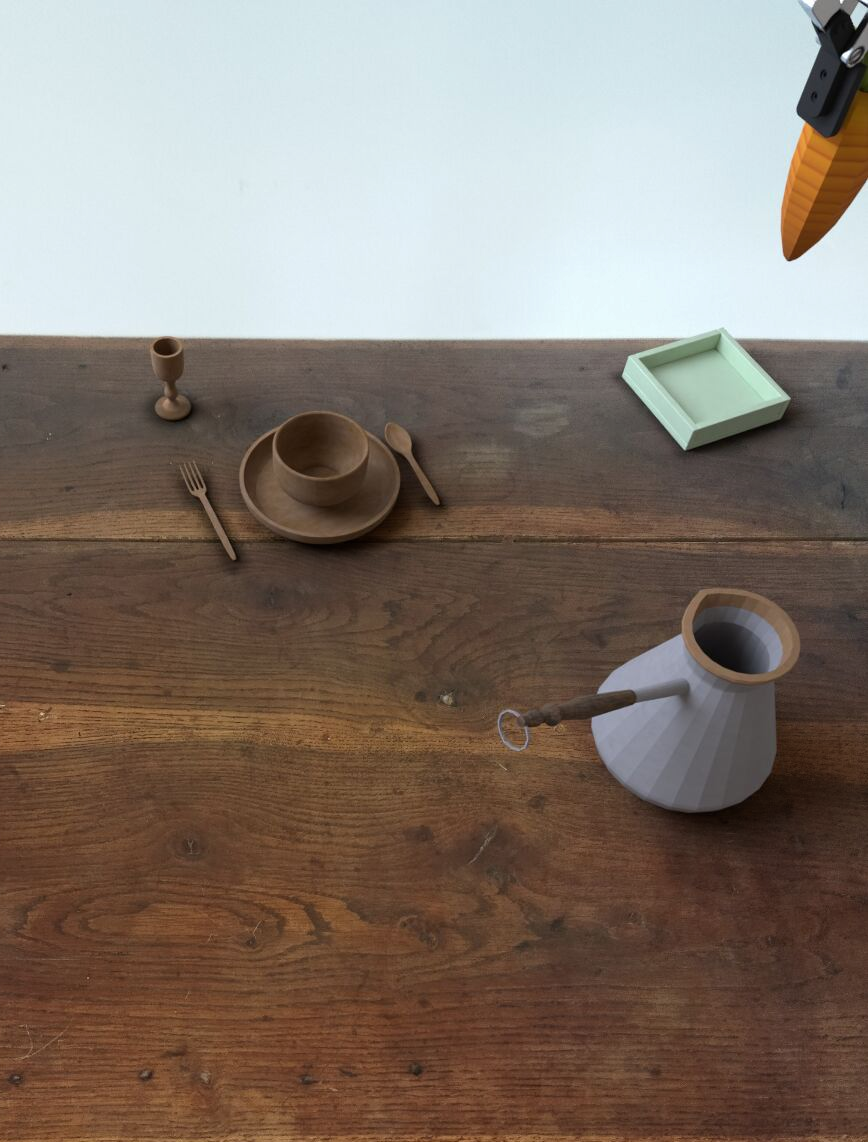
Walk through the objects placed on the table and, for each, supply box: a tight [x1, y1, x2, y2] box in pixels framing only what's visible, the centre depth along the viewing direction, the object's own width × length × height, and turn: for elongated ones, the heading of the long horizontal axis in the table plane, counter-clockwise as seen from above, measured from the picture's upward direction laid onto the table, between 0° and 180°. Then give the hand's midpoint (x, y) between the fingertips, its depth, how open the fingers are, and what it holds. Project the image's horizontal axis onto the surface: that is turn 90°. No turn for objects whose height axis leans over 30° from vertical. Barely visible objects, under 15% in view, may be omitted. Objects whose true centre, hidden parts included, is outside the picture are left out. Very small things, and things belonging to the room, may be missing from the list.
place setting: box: [149, 335, 440, 561], centre depth 80 cm, size 18×20×6 cm
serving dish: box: [621, 327, 792, 452], centre depth 86 cm, size 9×9×2 cm
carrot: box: [780, 25, 868, 262], centre depth 65 cm, size 5×5×15 cm
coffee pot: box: [497, 587, 801, 814], centre depth 62 cm, size 21×12×15 cm, turn 118°
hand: (855, 111), depth 63 cm, fingers closed on carrot, 4 cm apart
